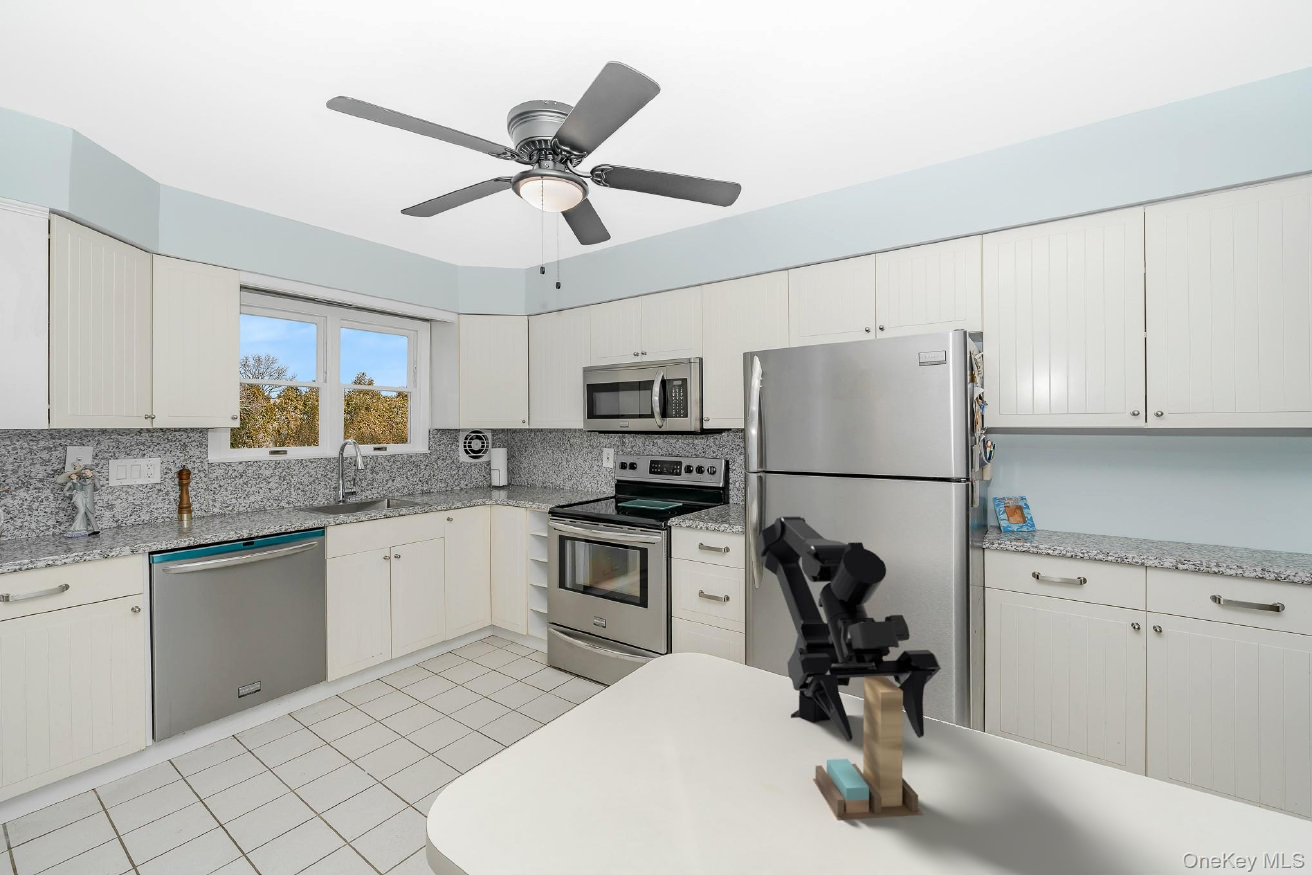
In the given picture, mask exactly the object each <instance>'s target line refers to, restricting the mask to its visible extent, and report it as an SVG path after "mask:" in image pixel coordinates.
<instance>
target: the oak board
mask: <svg viewBox="0 0 1312 875" xmlns="http://www.w3.org/2000/svg"><path fill="white" fill-rule="evenodd" d="M898 687H899V686H898V685H896V684H895V683H894V682H893V681H891V679H890V678H888V676H865V677H863V753H862V754H863V766H862V767H863V768H862V769H863V772H862V773H863V774H864V776H865V777H866V778H867V779H868V781H869V782H870V783H871V785H872V786H873V787H874V789H875V790H876V791H877V792H878V794H879V795H880V796H881V807H890V806H902V777H903V753H904V752H903V751H904V750H903V745H904V743H903V738H904V737H903V736H904V735H903V732H904V730H903V726H904V725H903V724H904V723H903V722H904V721H903V719H904V717H903V716H904V714H903V712H904V710H903V709H904V706H903V691H902V690H901V689H900V688H898Z"/></svg>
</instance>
